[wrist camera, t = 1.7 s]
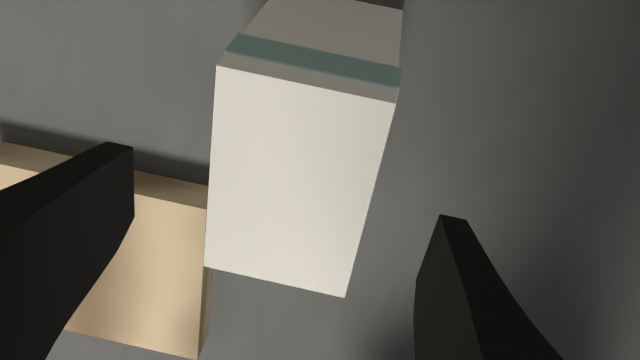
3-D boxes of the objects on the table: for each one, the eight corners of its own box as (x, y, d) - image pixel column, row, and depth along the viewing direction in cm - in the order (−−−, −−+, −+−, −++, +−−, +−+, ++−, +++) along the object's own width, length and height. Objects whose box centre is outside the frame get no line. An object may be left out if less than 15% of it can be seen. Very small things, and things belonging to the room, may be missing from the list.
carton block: (404, 9, 18) (398, 102, 12) (365, 167, 21) (345, 299, 16) (279, -18, 18) (214, 62, 12) (259, 144, 22) (201, 267, 16)
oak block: (221, 181, 23) (206, 209, 22) (210, 328, 28) (197, 360, 27) (12, 135, 24) (-19, 160, 22) (37, 289, 29) (14, 318, 27)
